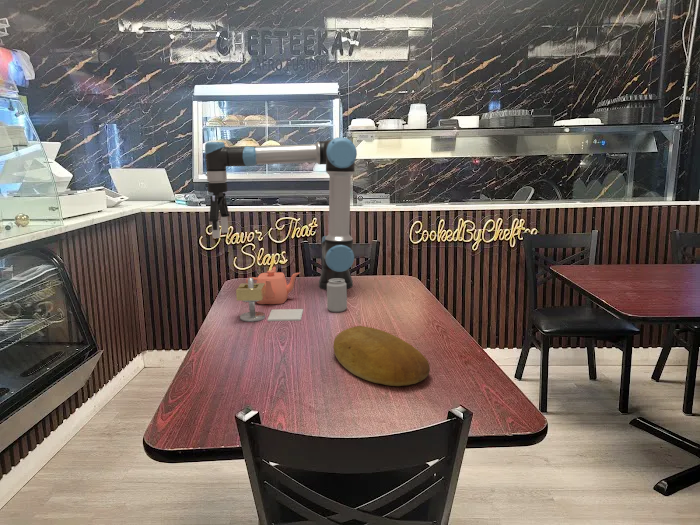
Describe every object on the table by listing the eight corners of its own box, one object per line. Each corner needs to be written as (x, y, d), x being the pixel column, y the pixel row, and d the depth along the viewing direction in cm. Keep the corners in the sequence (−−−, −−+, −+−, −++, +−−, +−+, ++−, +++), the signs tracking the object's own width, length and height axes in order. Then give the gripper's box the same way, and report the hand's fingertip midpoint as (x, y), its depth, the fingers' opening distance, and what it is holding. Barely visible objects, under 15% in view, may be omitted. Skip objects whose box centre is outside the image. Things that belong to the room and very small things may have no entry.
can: (344, 313, 197) (344, 282, 195) (325, 312, 199) (324, 281, 196) (348, 307, 205) (348, 277, 202) (329, 306, 206) (329, 277, 203)
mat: (303, 310, 202) (303, 309, 201) (300, 320, 190) (300, 319, 190) (271, 311, 201) (271, 309, 201) (267, 321, 190) (267, 319, 190)
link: (265, 293, 196) (265, 283, 196) (261, 300, 188) (261, 289, 187) (241, 293, 196) (240, 283, 195) (236, 300, 187) (236, 289, 187)
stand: (266, 313, 198) (264, 275, 195) (263, 321, 189) (261, 281, 186) (242, 314, 198) (240, 275, 195) (238, 322, 189) (235, 281, 186)
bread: (362, 342, 169) (362, 312, 166) (443, 378, 141) (444, 343, 139) (314, 356, 158) (313, 324, 156) (392, 398, 130) (392, 360, 128)
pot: (303, 300, 216) (302, 270, 213) (268, 309, 204) (267, 278, 201) (275, 292, 228) (274, 264, 226) (241, 300, 217) (240, 270, 214)
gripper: (216, 180, 220) (219, 230, 224) (198, 184, 195) (202, 240, 200) (234, 180, 220) (237, 230, 224) (218, 184, 195) (222, 240, 200)
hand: (220, 235), depth 212 cm, fingers open, 13 cm apart
